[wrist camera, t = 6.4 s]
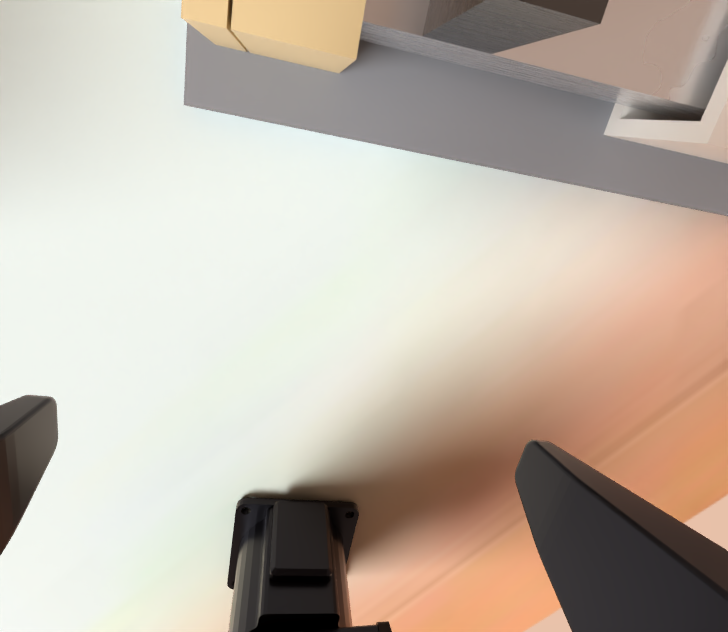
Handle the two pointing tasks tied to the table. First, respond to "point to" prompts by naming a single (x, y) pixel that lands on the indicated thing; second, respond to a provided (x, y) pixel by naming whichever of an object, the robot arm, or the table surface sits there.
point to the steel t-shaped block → (572, 44)
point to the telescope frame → (442, 103)
